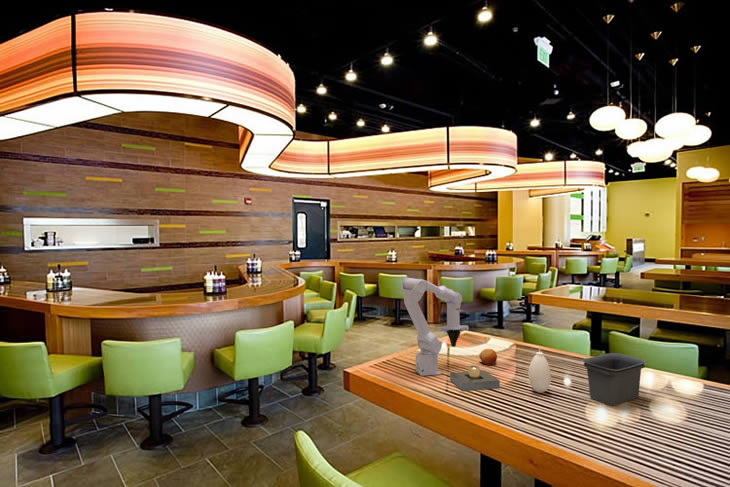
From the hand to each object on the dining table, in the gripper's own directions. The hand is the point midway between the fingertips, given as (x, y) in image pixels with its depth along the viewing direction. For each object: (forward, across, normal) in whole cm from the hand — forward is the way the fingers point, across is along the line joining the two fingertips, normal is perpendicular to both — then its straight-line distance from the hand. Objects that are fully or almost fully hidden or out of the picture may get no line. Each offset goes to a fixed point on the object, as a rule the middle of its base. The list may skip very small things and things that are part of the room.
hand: (453, 346), depth 183 cm
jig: (+9, -1, -23) cm, 25 cm away
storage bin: (+10, +43, -46) cm, 64 cm away
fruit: (+10, +18, 0) cm, 20 cm away
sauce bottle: (+10, +20, -36) cm, 42 cm away
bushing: (+9, -1, -23) cm, 25 cm away
